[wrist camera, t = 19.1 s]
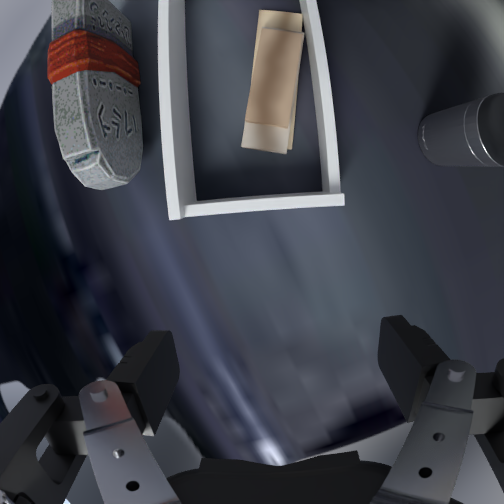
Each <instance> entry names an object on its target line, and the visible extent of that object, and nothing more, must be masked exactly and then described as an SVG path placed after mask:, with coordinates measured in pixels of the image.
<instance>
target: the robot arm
mask: <svg viewBox="0 0 504 504" xmlns="http://www.w3.org/2000/svg"><path fill="white" fill-rule="evenodd" d="M418 141H419V145H420V148H421V150H422V152H423V154H424V155H425V156H426V158H427V159H428V160H429V161H430V162H432V163H434V164H435V165H439V166H498V167H504V93H497V94H493V95H490V96H487V97H483V98H480V99H477V100H474V101H470V102H467V103H464V104H461V105H457V106H454V107H451V108H448V109H445V110H442V111H439V112H436V113H433V114H430V115H428V116H426V117H425V118H424V119H423V120H422V121H421V123H420V126H419V129H418ZM378 364H379V367H380V369H381V371H382V373H383V375H384V377H385V379H386V381H387V383H388V385H389V387H390V389H391V391H392V393H393V395H394V397H395V399H396V401H397V403H398V405H399V407H400V409H401V411H402V413H403V415H404V417H405V419H406V421H407V423H409V422H413V421H414V423H413V426H412V428H411V430H410V432H409V434H408V437H407V439H406V441H405V443H404V445H403V447H402V449H401V451H400V453H399V455H398V457H397V459H396V461H395V463H394V465H393V467H391V466H389V465H385V464H382V463H377V462H370V461H360V459H359V455H358V452H357V451H351V452H344V453H337V454H329V455H320V456H317V457H314V458H310V459H306V460H303V461H299V462H295V463H292V464H288V465H284V466H273V465H266V464H260V463H254V462H249V461H244V460H232V459H206V458H202V459H201V463H200V467H199V469H193V470H188V471H184V472H181V473H178V474H175V475H173V476H170V477H168V478H165V476H164V475H163V473H162V471H161V469H160V467H159V466H158V464H157V462H156V461H155V459H154V457H153V455H152V453H151V451H150V449H149V448H148V446H147V444H146V442H145V440H144V438H143V436H142V435H148V436H155V434H156V431H157V429H158V426H159V424H160V422H161V419H162V417H163V415H164V412H165V410H166V408H167V405H168V403H169V401H170V398H171V396H172V394H173V391H174V389H175V387H176V384H177V382H178V379H179V373H180V369H179V362H178V358H177V354H176V349H175V344H174V340H173V335H172V333H171V331H158V330H152V331H150V332H149V334H148V335H147V336H146V338H145V339H144V341H143V342H139V343H137V344H136V345H134V346H133V347H131V348H130V349H129V350H128V351H127V353H126V354H125V355H124V357H123V358H122V359H121V361H120V363H118V365H117V366H116V367H115V369H114V370H113V371H112V373H111V374H110V375H109V377H108V378H107V379H106V380H102V381H96V382H93V383H90V384H88V385H86V386H85V387H84V388H83V389H82V390H81V391H80V393H79V396H72V397H61V395H60V392H59V390H58V388H57V387H56V386H54V385H51V384H43V385H39V386H36V387H34V388H32V389H31V390H29V391H28V392H27V394H26V395H25V396H24V397H23V398H22V399H21V400H20V402H19V403H18V404H17V405H16V406H15V407H14V408H13V409H12V411H11V412H10V413H9V414H8V415H7V417H6V418H5V419H4V420H3V421H2V422H1V424H0V504H63V503H64V501H65V499H66V497H67V495H68V492H69V490H70V488H71V486H72V484H73V482H74V480H75V478H76V476H77V474H78V472H79V470H80V468H81V466H82V464H83V462H84V460H85V458H86V456H87V455H89V458H90V461H91V465H92V468H93V471H94V474H95V478H96V481H97V483H98V487H99V490H100V492H101V495H102V498H103V501H104V503H105V504H463V503H461V502H459V501H457V500H455V499H453V498H451V495H452V492H453V490H454V487H455V483H456V480H457V477H458V474H459V471H460V467H461V464H462V460H463V457H464V453H465V449H466V445H467V441H468V437H469V435H474V436H475V437H476V439H477V441H478V443H479V445H480V447H481V448H482V450H483V452H484V454H485V456H486V458H487V460H488V462H489V464H490V466H491V468H492V470H493V471H494V474H495V476H496V478H497V480H498V482H499V484H500V486H501V488H502V490H503V492H504V358H503V359H501V360H500V361H499V362H498V363H497V366H496V369H495V372H491V373H476V370H475V368H474V367H473V366H472V365H471V364H469V363H467V362H465V361H461V360H450V359H449V358H448V356H447V355H446V354H445V353H444V352H443V351H442V349H441V348H440V347H439V346H438V345H437V344H436V343H435V342H434V340H433V339H431V337H430V336H429V335H428V334H427V333H426V332H425V331H424V330H423V329H421V328H419V327H417V326H415V325H413V326H411V325H410V324H409V323H408V321H407V320H406V319H405V318H404V317H403V316H402V315H397V316H389V317H383V318H382V320H381V326H380V337H379V346H378ZM44 436H45V438H46V440H47V441H48V443H49V446H48V447H47V449H46V450H45V452H44V454H43V455H42V457H41V458H40V460H39V461H38V460H37V457H36V449H37V447H38V445H39V444H40V442H41V441H42V439H43V438H44Z"/></svg>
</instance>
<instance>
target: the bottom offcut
mask: <svg viewBox="0 0 504 504" xmlns="http://www.w3.org/2000/svg"><path fill="white" fill-rule="evenodd" d="M302 17H303V14H299V13H290V12H280V11H269V10H260V11H259V19H258V28H257V36H256V45H255V54H254V62H253V72H254V66H255V61H256V56H257V50H258V45H259V40H260V35H261V30H262V27H270V28H278V29H285V30H291V31H297V32H302ZM253 72H252V77H253ZM251 83H252V81H251ZM297 86H298V81H297ZM296 98H297V88H296V95H295V101H294V108H293V114H292V121H291V127H290V134H289V140H288V146H287V149H290V150H291V149H292V142H293V132H294V121H295V110H296Z"/></svg>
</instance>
